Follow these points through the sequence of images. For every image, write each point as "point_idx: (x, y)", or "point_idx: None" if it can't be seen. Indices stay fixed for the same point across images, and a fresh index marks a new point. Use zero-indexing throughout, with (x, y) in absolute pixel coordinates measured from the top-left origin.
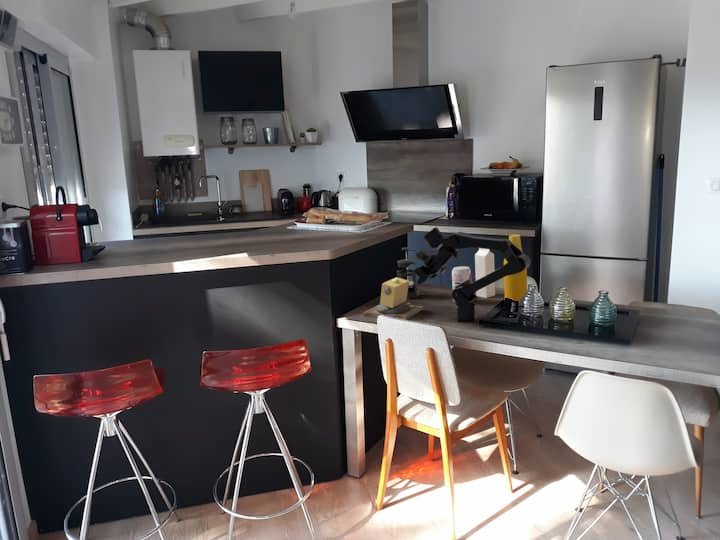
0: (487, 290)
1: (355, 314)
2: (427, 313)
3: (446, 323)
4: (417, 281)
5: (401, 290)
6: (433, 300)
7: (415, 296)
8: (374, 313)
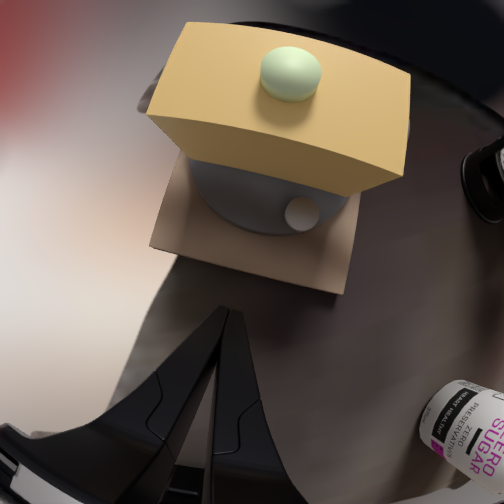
0: None
1: None
2: (276, 329)
3: None
4: (210, 314)
5: (274, 154)
6: (464, 295)
7: (482, 213)
8: None
